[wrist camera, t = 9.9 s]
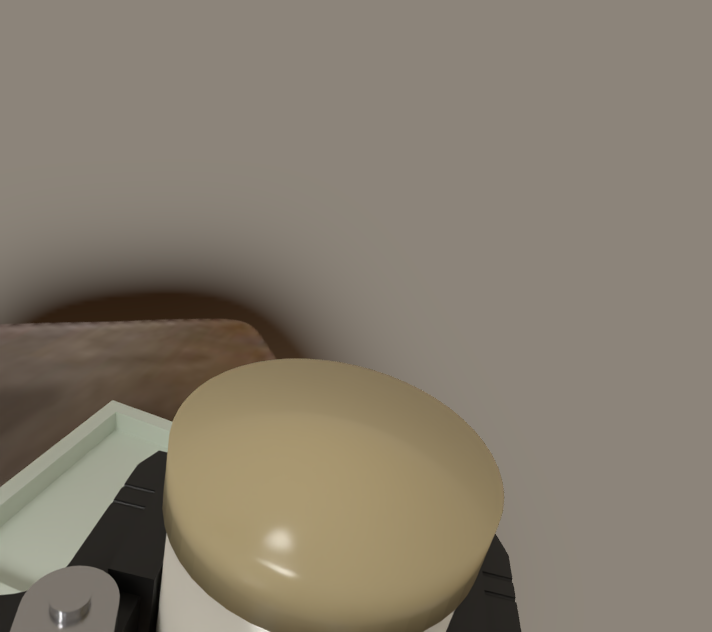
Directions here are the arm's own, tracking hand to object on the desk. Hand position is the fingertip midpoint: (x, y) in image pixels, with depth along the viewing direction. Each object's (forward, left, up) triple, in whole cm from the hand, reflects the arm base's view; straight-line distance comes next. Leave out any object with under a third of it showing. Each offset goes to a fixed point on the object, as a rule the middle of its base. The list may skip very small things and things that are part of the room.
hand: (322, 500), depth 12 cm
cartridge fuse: (0, -3, -8) cm, 8 cm away
